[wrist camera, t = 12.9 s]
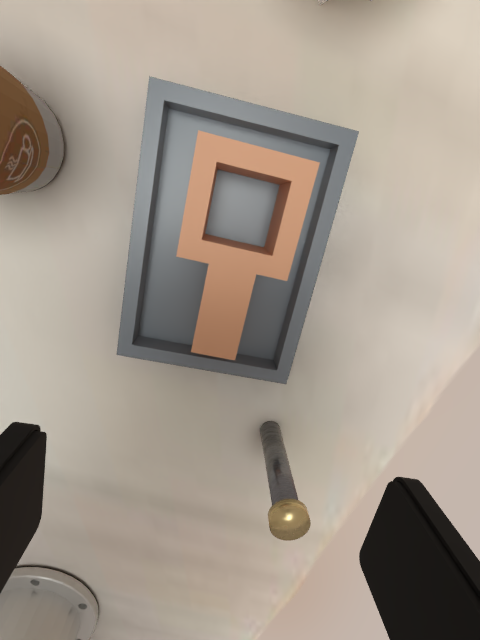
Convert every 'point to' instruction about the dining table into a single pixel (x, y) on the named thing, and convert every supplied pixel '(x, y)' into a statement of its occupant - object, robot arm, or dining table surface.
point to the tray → (222, 229)
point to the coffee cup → (26, 138)
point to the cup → (323, 0)
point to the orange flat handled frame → (232, 256)
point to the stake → (282, 488)
